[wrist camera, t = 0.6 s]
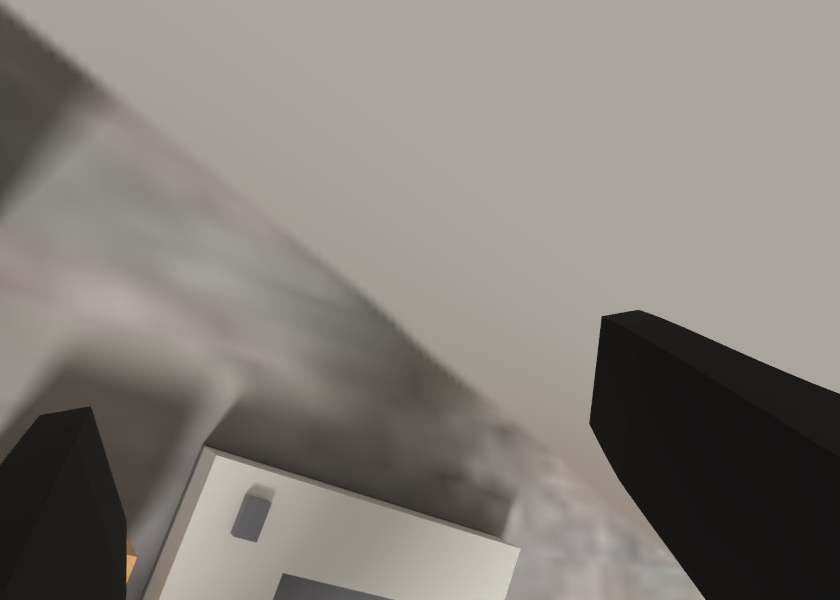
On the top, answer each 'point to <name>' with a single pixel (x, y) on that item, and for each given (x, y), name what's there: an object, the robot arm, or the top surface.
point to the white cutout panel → (314, 543)
